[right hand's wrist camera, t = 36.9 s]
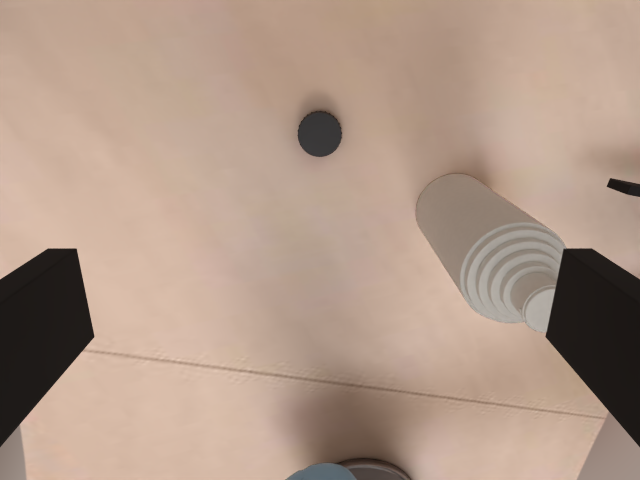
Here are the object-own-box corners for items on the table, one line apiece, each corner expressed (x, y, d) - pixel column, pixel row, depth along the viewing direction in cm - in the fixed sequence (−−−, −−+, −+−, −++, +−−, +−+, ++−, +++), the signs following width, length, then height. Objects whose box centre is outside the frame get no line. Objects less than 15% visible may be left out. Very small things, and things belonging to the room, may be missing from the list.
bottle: (403, 196, 48) (465, 289, 27) (472, 159, 46) (593, 227, 26) (434, 256, 50) (513, 383, 30) (501, 223, 49) (632, 332, 28)
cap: (307, 161, 46) (307, 163, 45) (291, 120, 45) (290, 122, 44) (347, 145, 46) (348, 147, 44) (332, 103, 44) (332, 105, 43)
